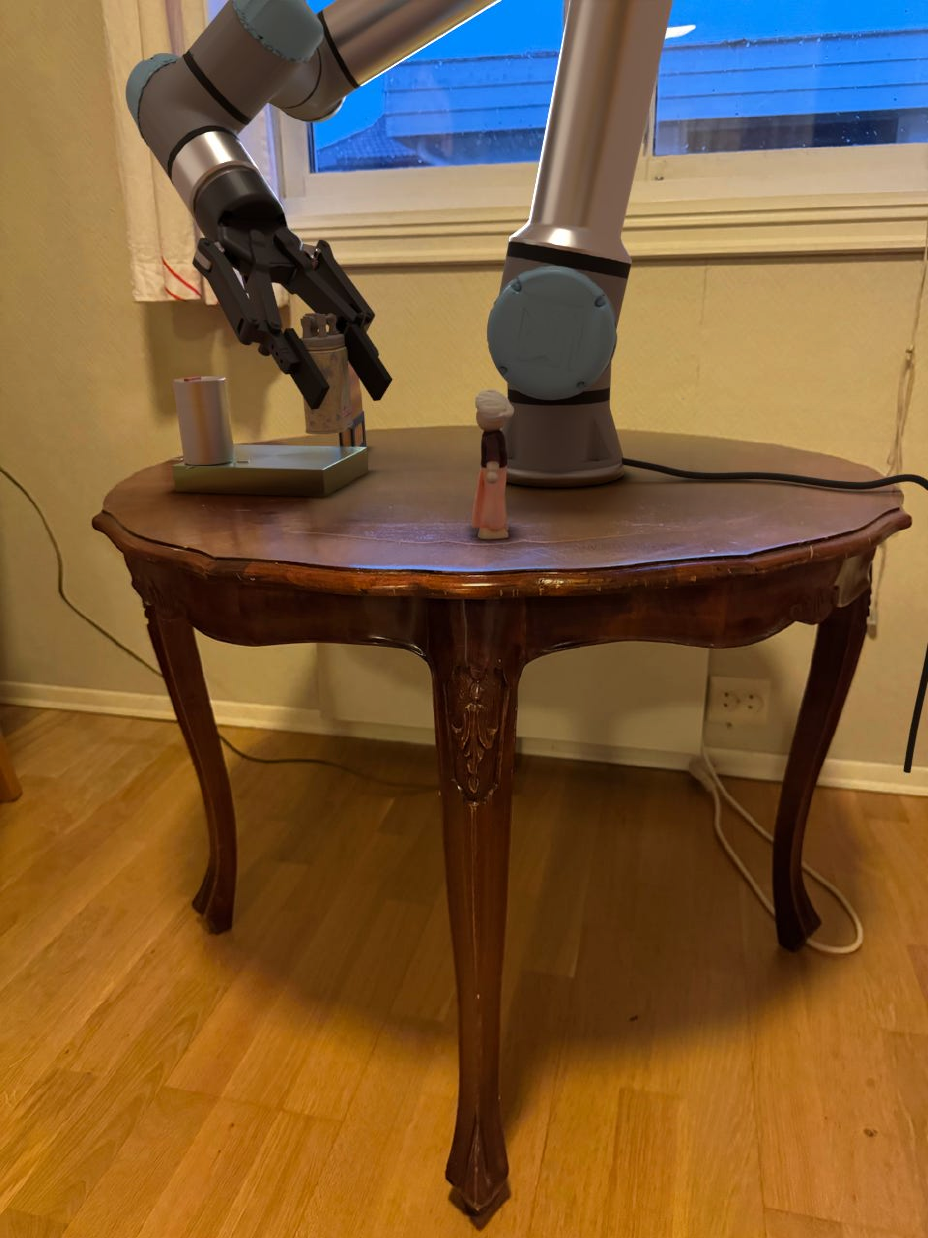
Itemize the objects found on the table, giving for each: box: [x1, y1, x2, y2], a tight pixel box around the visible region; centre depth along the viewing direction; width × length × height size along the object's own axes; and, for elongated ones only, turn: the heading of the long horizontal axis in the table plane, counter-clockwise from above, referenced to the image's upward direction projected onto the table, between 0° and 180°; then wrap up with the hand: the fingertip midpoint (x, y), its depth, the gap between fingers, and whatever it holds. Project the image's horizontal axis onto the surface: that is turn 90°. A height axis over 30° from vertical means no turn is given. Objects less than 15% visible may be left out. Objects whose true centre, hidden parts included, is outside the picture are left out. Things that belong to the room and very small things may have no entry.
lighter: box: [299, 312, 353, 436], centre depth 77 cm, size 7×4×10 cm, turn 176°
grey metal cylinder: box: [172, 375, 235, 465], centre depth 98 cm, size 6×6×9 cm
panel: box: [169, 443, 370, 498], centre depth 102 cm, size 20×16×3 cm
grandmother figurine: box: [470, 388, 514, 540], centre depth 76 cm, size 8×4×13 cm, turn 5°
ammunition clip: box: [338, 362, 368, 448], centre depth 116 cm, size 11×2×12 cm, turn 178°
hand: (352, 393), depth 75 cm, fingers closed on lighter, 6 cm apart
